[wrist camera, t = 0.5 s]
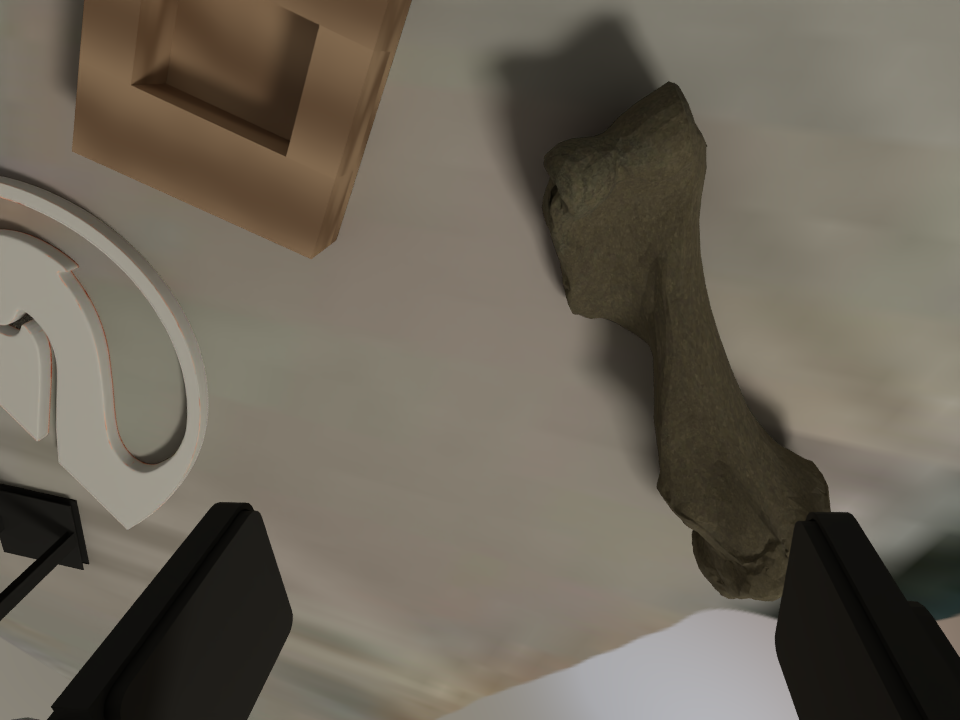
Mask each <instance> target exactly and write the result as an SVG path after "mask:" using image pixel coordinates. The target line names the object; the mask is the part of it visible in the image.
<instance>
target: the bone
mask: <svg viewBox="0 0 960 720" xmlns="http://www.w3.org/2000/svg"><path fill="white" fill-rule="evenodd" d="M706 147H707V144H706V142H705V140H704V138H703V135H702V133H701V132H700V130H699V129H698V127H697V126H696V124H695V122H694V118H693V115H692V113H691V110H690V107H689V104H688V102H687V100H686V98H685V97H684V95H683V93H682V91H681V89H680V87H679V86H678V85H677V84H675V83H672V82H669V81H668V82H667V83H665V84H664V85H663V86H661V87H660V88H658V89H657V90H655V91H654V92H652V93H651V94H649V95H648V96H646V97H645V98H643V99H642V100H640V101H639V102H637V103H636V104H634V105H633V106H632V107H631V108H629V109H628V110H627V111H626V112H625V113H623V114H622V115H621V116H620V117H619V118H618V119H617V120H616V121H615V122H614V123H613V124H612V125H611V126H610V127H609V128H608V129H607V130H606V131H605V132H604V133H603V134H600V135H597V136H594V137H585V138H574V139H569V140H566V141H564V142H561V143H559V144H558V145H556V146H555V147H554V148H553V149H552V150H550V151H549V152H548V153H547V154H546V155H545V156H544V167H545V169H546V171H547V173H548V174H549V176H550V179H549V182H548V185H547V188H546V191H545V194H544V197H543V204H542V209H543V214H544V218H545V221H546V224H547V226H548V228H549V230H550V233H551V238H552V241H553V244H554V247H555V250H556V253H557V255H558V258H559V260H560V265H561V271H562V279H563V285H564V289H565V293H566V298H567V301H568V305H569V307H570V309H571V311H572V313H573V314H579V315H581V316H584V317H586V318H590V319H593V318H605V319H608V320H611V321H613V322H616V323H618V324H619V325H621V326H623V327H624V328H626V329H627V330H629V331H631V332H632V333H634V334H636V335H637V336H639V337H640V338H641V339H642V340H644V341H645V342H646V343H647V344H648V345H649V346H650V348H651V351H652V354H653V368H654V424H655V431H656V439H657V446H658V453H659V465H660V474H659V479H658V483H657V489H658V491H659V492H660V494H661V496H662V497H663V498H664V500H665V501H666V503H667V504H668V505H669V507H670V508H671V510H672V511H673V512H674V513H675V514H676V515H677V516H678V517H679V518H680V519H681V520H682V521H683V523H684V524H685V525H686V526H688V527H689V528H691V529H693V531H692V545H693V552H694V556H695V559H696V561H697V564H698V567H699V569H700V571H701V572H702V574H703V575H704V577H706V579H707V580H708V581H709V582H710V583H711V584H712V586H713V587H714V588H715V589H716V590H717V591H718V592H719V593H720V595H722V596H724V597H726V598H728V599H735V598H738V599H747V598H752V599H754V600H761V601H774V600H777V599H779V598H780V597H782V593H783V587H784V582H785V576H786V570H787V565H788V559H789V553H790V548H791V542H792V537H793V531H794V526H795V523H796V522H797V521H806V517H807V515H808V514H809V512H831V510H830V500H829V490H828V485H827V483H826V481H825V479H824V477H823V475H822V473H821V472H820V471H819V469H818V468H817V467H816V465H815V464H814V463H813V462H812V461H810V460H806V459H804V458H802V457H801V456H799V455H797V454H795V453H793V452H792V451H790V450H788V449H786V448H784V447H782V446H780V445H779V444H778V443H777V442H775V441H774V440H773V439H772V438H771V437H770V436H769V435H768V434H767V432H766V431H765V430H764V429H763V428H762V427H761V426H760V424H759V423H758V422H757V420H756V419H755V418H754V416H753V415H752V414H751V412H750V410H749V408H748V407H747V405H746V403H745V401H744V398H743V396H742V393H741V391H740V389H739V386H738V384H737V381H736V379H735V376H734V374H733V372H732V369H731V367H730V364H729V361H728V359H727V356H726V353H725V350H724V347H723V345H722V342H721V339H720V336H719V333H718V330H717V327H716V323H715V320H714V317H713V314H712V310H711V307H710V302H709V298H708V294H707V289H706V285H705V279H704V273H703V266H702V260H701V254H700V230H699V216H700V206H701V196H702V191H703V185H704V179H705V174H706V168H707V167H706Z"/></svg>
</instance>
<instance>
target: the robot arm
mask: <svg viewBox="0 0 960 720" xmlns="http://www.w3.org/2000/svg"><path fill="white" fill-rule="evenodd" d="M292 621H293V614H292V610H291V606H290V603H289V600H288V597H287V594H286V591H285V588H284V585H283V581H282V578H281V575H280V572H279V569H278V566H277V563H276V560H275V557H274V553H273V550H272V547H271V544H270V541H269V538H268V535H267V532H266V528H265V525H264V522H263V519H262V516H261V514H260V513H259V512H258V511H254V509H253V507H252V506H251V505H250V504H249V503H233V502H219V503H216V504H214V505H213V506H212V507H211V508H210V509H209V511H208V512H207V513H206V514H205V516H204V517H203V518H202V519H201V521H200V522H199V523H198V524H197V526H196V527H195V528H194V529H193V531H192V532H191V533H190V534H189V536H188V537H187V538H186V539H185V541H184V542H183V543H182V544H181V546H180V547H179V548H178V549H177V550H176V552H175V553H174V554H173V555H172V557H171V558H170V559H169V560H168V562H167V563H166V564H165V565H164V567H163V568H162V569H161V570H160V572H159V573H158V574H157V575H156V577H155V578H154V579H153V580H152V582H151V583H150V584H149V585H148V587H147V588H146V589H145V590H144V592H143V593H142V594H141V595H140V597H139V598H138V599H137V600H136V601H135V603H134V604H133V605H132V606H131V608H130V609H129V610H128V611H127V613H126V614H125V615H124V616H123V618H122V619H121V620H120V621H119V623H118V624H117V625H116V626H115V628H114V629H113V630H112V631H111V633H110V634H109V635H108V636H107V638H106V639H105V640H104V641H103V643H102V644H101V645H100V646H99V647H98V649H97V650H96V651H95V652H94V654H93V655H92V656H91V657H90V659H89V660H88V661H87V662H86V664H85V665H84V666H83V667H82V669H81V670H80V671H79V672H78V674H77V675H76V676H75V677H74V679H73V680H72V681H71V682H70V684H69V685H68V686H67V687H66V689H65V690H64V691H63V692H62V694H61V695H60V696H59V697H58V698H57V700H56V701H55V702H54V703H53V705H52V706H51V708H52V709H53V711H54V712H53V713H52V714H51V715H50V717H49V718H48V719H47V720H247V719H248V717H249V715H250V713H251V711H252V709H253V707H254V705H255V702H256V700H257V698H258V696H259V694H260V692H261V690H262V688H263V686H264V684H265V682H266V680H267V678H268V676H269V674H270V672H271V670H272V668H273V666H274V664H275V662H276V660H277V658H278V656H279V653H280V651H281V649H282V647H283V645H284V643H285V641H286V639H287V637H288V635H289V633H290V630H291V627H292ZM775 647H776V652H777V657H778V660H779V663H780V666H781V669H782V672H783V675H784V677H785V680H786V683H787V686H788V689H789V691H790V694H791V697H792V700H793V703H794V706H795V709H796V712H797V715H798V717H799V720H960V657H959V656H958V654H957V653H956V651H955V650H954V648H953V647H952V645H951V644H950V642H949V640H948V639H947V637H946V636H945V634H944V633H943V631H942V630H941V628H940V627H939V625H938V624H937V622H936V621H935V619H934V618H933V616H932V615H931V614H930V612H929V611H928V610H927V609H926V608H925V607H924V606H923V605H921V604H920V603H918V602H915V601H907V600H906V598H905V597H904V595H903V594H902V592H901V590H900V589H899V587H898V586H897V584H896V582H895V581H894V579H893V578H892V576H891V574H890V573H889V571H888V570H887V568H886V566H885V565H884V563H883V562H882V560H881V558H880V557H879V555H878V554H877V552H876V551H875V549H874V547H873V546H872V544H871V543H870V541H869V539H868V538H867V536H866V535H865V533H864V531H863V530H862V528H861V527H860V525H859V523H858V522H857V520H856V519H855V518H854V516H853V515H852V514H850V513H848V512H809V514H808V515H807V517H806V521H797V522H796V523H795V526H794V531H793V537H792V542H791V548H790V553H789V559H788V565H787V570H786V576H785V582H784V587H783V593H782V598H781V604H780V610H779V615H778V621H777V626H776V633H775ZM13 720H38V719H33V718H20V719H13Z"/></svg>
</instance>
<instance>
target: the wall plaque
mask: <svg viewBox="0 0 960 720" xmlns="http://www.w3.org/2000/svg"><path fill="white" fill-rule="evenodd" d="M0 197H1V198H4V199H7V200H10V201H13V202H16V203H19V204H22V205H24V206H27V207H29V208H32V209H34V210H36V211H38V212H41V213H43V214H45V215H47V216H49V217H51V218H53V219H54V220H56V221H58V222H60V223H62V224H63V225H65V226H67V227H68V228H70V229H72V230H73V231H75V232H76V233H78V234H79V235H81V236H82V237H84V238H85V239H86V240H88V241H89V242H91V243H92V244H93V245H95V246H96V247H97V248H98V249H100V250H101V251H102V252H103V253H104V254H106V255H107V256H108V257H109V258H110V259H111V260H112V261H113V262H114V263H116V264H117V265H118V266H119V267H120V268H121V269H122V270H123V271H124V272H125V273H126V274H127V276H128V277H129V278H130V279H131V280H132V281H133V282H134V283H135V284H136V286H137V287H138V288H139V289H140V291H141V292H142V293H143V294H144V296H145V297H146V298H147V300H148V301H149V302H150V304H151V305H152V307H153V308H154V310H155V311H156V313H157V315H158V316H159V318H160V320H161V321H162V323H163V325H164V327H165V329H166V331H167V333H168V335H169V337H170V339H171V341H172V343H173V346H174V348H175V351H176V354H177V356H178V359H179V362H180V366H181V369H182V373H183V377H184V383H185V389H186V397H187V426H186V432H185V436H184V439H183V441H182V443H181V445H180V447H179V449H178V450H177V451H176V453H175V454H174V455H173V456H171V457H170V458H168V459H167V460H165V461H163V462H160V463H157V464H147V463H144V462H142V461H140V460H138V459H136V458H135V457H134V456H133V455H132V454H131V453H130V452H129V451H128V450H127V448H126V447H125V445H124V444H123V442H122V440H121V438H120V435H119V432H118V428H117V423H116V416H115V406H114V393H113V381H112V372H111V364H110V357H109V351H108V345H107V341H106V337H105V333H104V330H103V327H102V324H101V321H100V318H99V316H98V314H97V311H96V309H95V307H94V305H93V303H92V301H91V299H90V298H89V296H88V294H87V293H86V291H85V290H84V288H83V287H82V285H81V284H80V283H79V281H78V280H77V278H76V277H75V276H74V274H73V273H72V271H71V270H73V269H76V268H78V267H79V266H78V264H77V263H76V262H75V261H74V260H72V259H71V258H70V257H69V256H67V255H66V254H64V253H63V252H61V251H60V250H58V249H57V248H55V247H54V246H52V245H50V244H48V243H47V242H45V241H43V240H41V239H39V238H36V237H34V236H32V235H29V234H26V233H23V232H19V231H14V230H7V229H0V406H1V407H2V408H3V409H4V410H5V411H6V412H8V413H9V414H10V415H11V416H12V417H13V418H14V419H15V420H16V421H17V422H18V423H19V424H20V425H21V426H22V427H23V428H24V429H25V430H26V431H27V432H28V433H29V434H30V435H31V436H32V437H33V438H34V439H35V440H36V441H39V440H41V439H42V438H44V437H45V436H47V435H48V432H49V418H50V398H51V379H52V358H51V347H50V342H51V345H52V348H53V350H54V354H55V358H56V365H57V400H56V435H57V447H58V460H59V463H60V464H61V465H62V466H63V467H64V468H65V469H66V470H67V471H68V472H69V473H70V474H71V475H72V476H73V477H74V478H75V479H76V480H77V481H78V482H79V483H80V484H81V485H82V486H83V487H84V488H85V489H86V490H87V491H88V492H89V493H90V494H91V495H92V496H93V497H94V498H95V499H96V500H97V501H98V502H99V503H100V504H101V505H102V506H103V507H105V508H106V509H107V510H108V511H109V512H110V513H111V514H112V515H113V516H114V517H115V518H116V519H117V520H118V521H119V522H120V523H121V524H122V525H123V526H124V527H125V528H126V529H127V530H128V529H130V528H131V527H133V526H135V525H136V524H138V523H140V522H141V521H143V520H144V519H146V518H147V517H148V516H150V515H151V514H152V513H154V512H155V511H156V510H157V509H158V508H160V507H161V506H162V505H163V504H164V503H165V502H166V501H167V500H168V499H169V498H170V497H171V495H172V494H173V493H174V492H175V491H176V490H177V488H178V487H179V486H180V485H181V483H182V482H183V481H184V479H185V478H186V477H187V475H188V473H189V472H190V470H191V468H192V467H193V465H194V463H195V461H196V459H197V457H198V455H199V452H200V450H201V447H202V444H203V440H204V436H205V432H206V427H207V420H208V386H207V378H206V372H205V367H204V362H203V358H202V355H201V351H200V348H199V345H198V342H197V339H196V337H195V334H194V332H193V330H192V327H191V325H190V323H189V321H188V319H187V317H186V315H185V313H184V311H183V309H182V308H181V306H180V304H179V302H178V301H177V299H176V298H175V296H174V295H173V293H172V292H171V290H170V289H169V287H168V286H167V284H166V283H165V282H164V280H163V279H162V278H161V277H160V275H159V274H158V273H157V272H156V270H155V269H154V268H153V267H152V266H151V265H150V263H149V262H148V261H147V260H146V259H145V258H144V257H143V256H142V255H141V254H140V253H139V252H138V251H137V250H136V249H135V248H134V247H133V246H132V245H131V244H130V243H128V242H127V241H126V240H125V239H124V238H123V237H122V236H120V235H119V234H118V233H117V232H115V231H114V230H113V229H112V228H110V227H109V226H108V225H106V224H105V223H104V222H102V221H101V220H99V219H98V218H96V217H95V216H93V215H92V214H90V213H89V212H87V211H85V210H84V209H82V208H80V207H79V206H77V205H75V204H73V203H71V202H70V201H68V200H66V199H64V198H62V197H60V196H58V195H55V194H53V193H51V192H49V191H46V190H44V189H41V188H39V187H36V186H34V185H31V184H28V183H25V182H22V181H18V180H15V179H11V178H7V177H3V176H0ZM26 313H28V314H29V315H30V316H31V317H32V318H33V320H30V321H28V322H26V323H24V324H23V325H22V326H21V329H17V328H15V327H13V326H11V325H9V324H10V323H13V322H15V321H17V320H19V319H21V318H22V317H23V316H25V314H26ZM48 338H49V339H48ZM49 340H50V342H49Z"/></svg>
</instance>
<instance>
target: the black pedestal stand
mask: <svg viewBox="0 0 960 720" xmlns="http://www.w3.org/2000/svg"><path fill="white" fill-rule="evenodd" d="M0 540H1V543H2V547H3V550H4V552H7V553H11V554H16V555H20V556H24V557H29V558H33V559H37V560H36V561H35V562H34V563H33V564H32V565H30V566H29V567H28V568H27V569H26V570H25V571H24V572H23V573H22V574H21V575H20V576H19V577H18V578H17V579H15V580H14V581H13V582H12V583H11V584H10V585H9V586H8V587H7V588H6V589H5V590H4V591H3V592H2V593H0V621H1V620H2V619H3V618H4V617H5V616H6V615H7V614H8V613H9V612H10V611H11V610H12V609H13V608H14V607H15V606H16V605H17V604H18V603H19V602H20V601H21V600H22V599H23V598H24V597H25V596H26V595H27V594H28V593H29V592H30V591H31V590H32V589H33V588H34V587H35V586H36V585H37V584H38V583H39V582H40V581H41V580H42V579H43V578H44V577H45V576H47V575H48V574H49V573H50V572H51V571H52V570H53V569H54V568H55V567H56V566H57V565H58V564H59V565H63V566H68V567H72V568H77V569H81V570H84V568H83V563H85V564H89V560H88V555H87V550H86V545H85V540H84V536H83V531H82V526H81V521H80V516H79V511H78V506H77V501H75V500H71V499H67V498H62V497H58V496H53V495H49V494H44V493H40V492H35V491H31V490H26V489H22V488H18V487H13V486H9V485H4V484H0Z"/></svg>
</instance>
